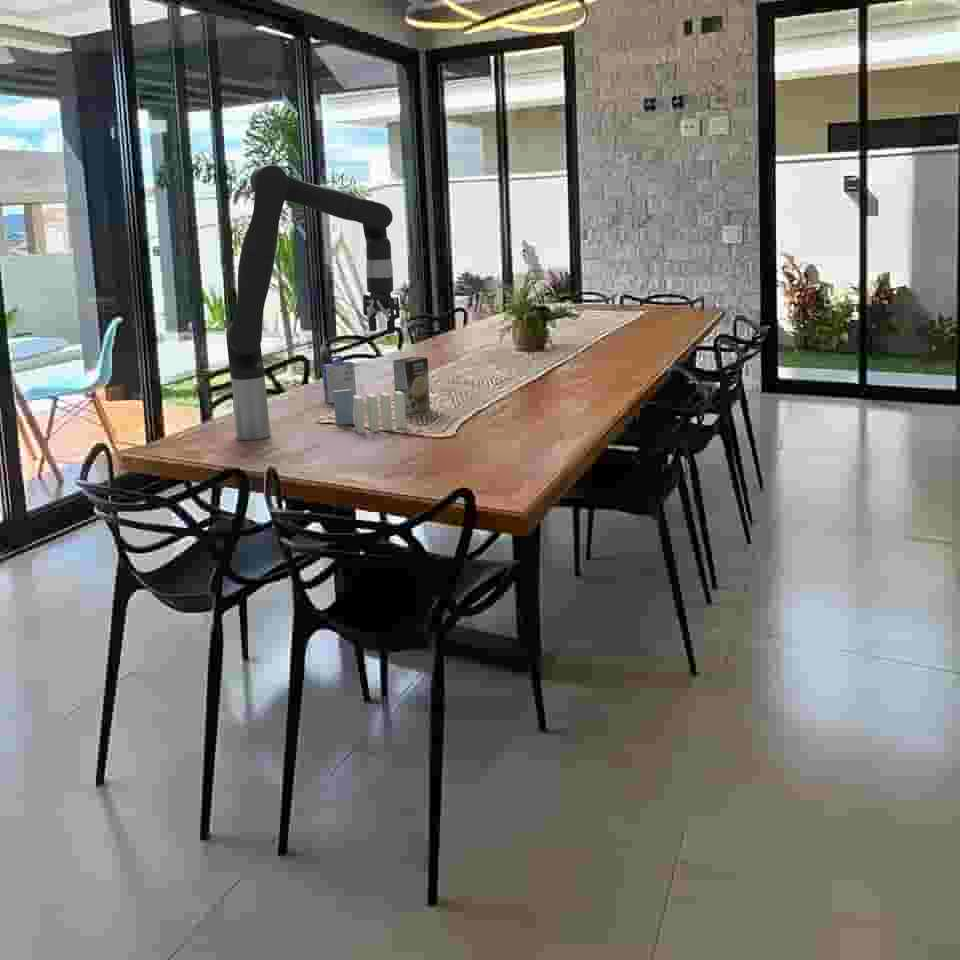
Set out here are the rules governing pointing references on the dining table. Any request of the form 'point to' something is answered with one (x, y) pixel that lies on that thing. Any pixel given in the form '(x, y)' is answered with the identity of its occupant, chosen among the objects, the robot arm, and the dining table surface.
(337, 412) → the end domino
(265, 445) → the dining table surface
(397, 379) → the coffee box
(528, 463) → the dining table surface
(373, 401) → the domino
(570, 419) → the dining table surface
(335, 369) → the ink cartridge box
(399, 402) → the domino
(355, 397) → the domino
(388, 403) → the domino
